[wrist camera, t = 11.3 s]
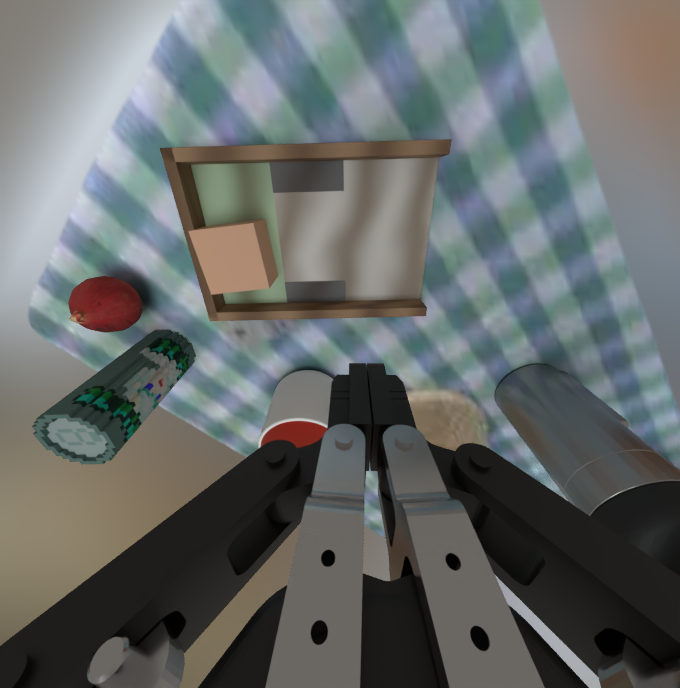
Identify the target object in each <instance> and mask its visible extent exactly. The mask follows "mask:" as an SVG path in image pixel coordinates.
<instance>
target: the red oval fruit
mask: <svg viewBox="0 0 680 688" xmlns="http://www.w3.org/2000/svg"><path fill="white" fill-rule="evenodd" d="M68 304H69V309H70V313H71V317H70V318H69V319H70V320H71V321H73V322H76V323H79V324H80V325H82V326H84V327H85V328H87V329H91V330H95V331H100V332H114V331H121V330H125V329H127V328H129V327H130V326H132V325H133V324H134V323H136V322H137V321H138V320H139V318H140V316H141V312H142V302H141V298H140V296H139V294H138V293H137V291H136V290H135V289H134V288H133V287H132V286H131V285H130V284H128V283H126V282H124V281H122V280H120V279H116V278H112V277H107V276H102V277H95V278H90V279H87V280H85V281H83V282H82V283H80V284H79V285H78V286H76V287H75V288H74V289H73V291H72V293H71V296H70V299H69V303H68Z"/></svg>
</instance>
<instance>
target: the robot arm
mask: <svg viewBox="0 0 680 688" xmlns="http://www.w3.org/2000/svg"><path fill="white" fill-rule="evenodd" d="M495 401H496V403H497V405H498V407H499V408H500V409H501V411H502V412H503V413H504V415H505V416H506V417H507V419H508V420H509V421H510V423H511V424H512V426H513V427H514V428H515V430H516V431H517V432H518V434H519V435H520V436H521V438H522V439H523V440H524V442H525V443H526V444H527V446H528V447H529V448H530V450H531V451H532V452H533V454H534V455H535V456H536V458H537V459H538V460H539V462H540V463H541V465H542V466H543V467H544V469H545V470H546V471H547V473H548V474H549V475H550V477H551V478H552V479H553V481H554V482H555V483H556V485H557V486H558V487H559V489H560V490H561V491H562V493H563V494H564V495H565V497H566V498H567V499H568V501H569V502H568V501H567V500H565V499H564V498H562V497H561V496H559V495H558V494H556V493H555V492H553V491H552V490H550V489H549V488H547V487H546V486H544V485H543V484H541V483H540V482H538V481H537V480H535V479H534V478H532V477H531V476H529V475H528V474H526V473H525V472H523V471H522V470H520V469H519V468H517V467H516V466H514V465H513V464H511V463H510V462H509V461H507V460H506V459H504V458H503V457H501V456H500V455H498V454H497V453H495V452H494V451H492V450H490V449H489V448H487V447H485V446H482V445H479V444H474V443H467V444H463V445H461V446H459V447H458V448H457V450H456V451H453V450H449V449H445V448H442V447H439V446H436V445H434V444H431V443H430V442H428V441H427V440H426V439H425V437H424V436H423V434H422V433H421V432H420V431H418V430H417V428H416V425H415V421H414V418H413V415H412V411H411V408H410V404H409V401H408V397H407V394H406V391H405V387H404V384H403V382H402V381H401V380H400V379H399V378H398V377H397V376H396V375H386V371H385V367H384V364H381V363H367V366H366V363H349V375H337V376H336V377H335V378H334V380H333V381H332V384H331V395H330V406H329V417H328V427H327V431H326V432H325V434H324V436H323V437H322V438H321V439H320V440H318V441H317V442H315V443H313V444H310V445H307V446H303V447H299V448H297V447H296V446H295V445H294V444H293V443H291V442H290V441H287V440H274V441H271V442H268V443H266V444H264V445H263V446H261V447H260V448H259V449H257V450H256V451H255V452H254V453H252V454H251V455H250V456H248V457H247V458H246V459H244V460H243V461H242V462H240V463H239V464H238V465H237V466H235V467H234V468H233V469H231V470H230V471H229V472H227V473H226V474H225V475H223V476H222V477H221V478H220V479H218V480H217V481H216V482H214V483H213V484H212V485H210V486H209V487H208V488H207V489H205V490H204V491H202V492H201V493H200V494H199V495H197V496H196V497H195V498H193V499H192V500H191V501H189V502H188V503H187V504H185V505H184V506H183V507H182V508H180V509H179V510H178V511H176V512H175V513H174V514H172V515H171V516H170V517H169V518H167V519H166V520H165V521H163V522H162V523H161V524H159V525H158V526H157V527H155V528H154V529H153V530H151V531H150V532H149V533H148V534H146V535H145V536H144V537H142V538H141V539H140V540H138V541H137V542H136V543H134V544H133V545H132V546H130V547H129V548H128V549H127V550H125V551H124V552H123V553H121V554H120V555H119V556H117V557H116V558H115V559H114V560H112V561H111V562H110V563H108V564H107V565H106V566H104V567H103V568H102V569H100V570H99V571H98V572H96V573H95V574H94V575H92V576H91V577H90V578H89V579H87V580H86V581H85V582H83V583H82V584H81V585H79V586H78V587H77V588H76V589H74V590H73V591H72V592H70V593H69V594H68V595H66V596H65V597H64V598H62V599H61V600H60V601H58V602H57V603H56V604H55V605H53V606H52V607H51V608H49V609H48V610H47V611H45V612H44V613H43V614H41V615H40V616H39V617H37V618H36V619H35V620H34V621H32V622H31V623H30V624H28V625H27V626H26V627H25V628H23V629H22V630H20V631H19V632H18V633H17V634H15V635H14V636H13V637H11V638H10V639H9V640H7V641H6V642H5V643H4V644H3V645H1V646H0V688H179V687H180V684H181V681H182V676H183V672H184V665H185V660H184V659H185V657H184V653H185V652H186V651H187V649H188V648H189V647H190V646H191V645H192V644H193V643H194V642H195V640H196V639H197V638H198V637H199V636H200V635H201V634H202V633H203V632H204V630H205V629H206V628H207V627H208V626H209V625H210V624H211V623H212V621H213V620H214V619H215V618H216V617H217V616H218V614H220V612H221V611H222V610H223V609H224V608H225V607H226V606H227V605H228V604H229V602H230V601H231V600H232V599H233V598H234V597H235V596H236V594H237V593H238V592H239V591H240V590H241V589H242V588H243V587H244V586H245V584H246V583H247V582H248V581H249V579H251V578H252V576H253V575H254V574H255V573H256V572H257V571H258V570H259V569H260V568H261V566H262V565H263V564H264V563H265V562H266V561H267V560H268V559H269V557H270V556H271V555H272V554H273V553H274V552H275V551H276V550H277V548H278V547H279V546H280V545H281V544H282V543H283V541H284V540H285V539H286V538H287V537H288V536H289V535H290V534H291V533H292V532H293V530H294V529H295V528H296V527H297V526H298V525H299V524H300V522H301V525H300V530H299V534H298V539H297V543H296V548H295V553H294V557H293V562H292V567H291V571H290V577H289V581H288V585H287V586H285V587H284V588H282V589H281V590H279V591H277V592H276V593H275V594H274V595H272V596H271V597H270V598H269V599H268V600H267V601H266V602H265V603H264V604H263V605H262V606H261V607H260V608H259V609H258V610H257V611H256V613H255V614H254V615H253V616H252V617H251V619H250V620H249V621H248V623H247V624H246V625H245V627H244V628H243V630H242V631H241V632H240V633H239V635H238V636H237V637H236V638H235V640H234V641H233V643H232V644H231V645H230V647H229V648H228V649H227V650H226V652H225V653H224V654H223V655H222V657H221V658H220V659H219V661H218V662H217V663H216V665H215V666H214V667H213V669H212V670H211V671H210V673H209V674H208V675H207V677H206V678H205V679H204V680H203V682H202V683H201V684H200V686H199V687H198V688H589V687H588V686H587V685H586V684H585V683H584V682H583V681H582V680H581V679H580V678H579V677H578V676H577V675H576V674H575V672H574V671H573V670H572V669H571V668H570V667H569V666H568V665H567V664H566V663H565V662H564V661H563V660H562V659H561V657H560V656H559V655H558V654H557V653H556V652H555V651H554V650H553V649H552V648H551V647H550V646H549V645H548V644H547V642H546V641H545V640H544V639H543V638H542V637H541V636H540V635H539V634H538V633H537V632H536V631H535V630H534V628H533V627H532V626H531V625H530V624H529V623H528V622H527V621H526V620H525V619H524V618H523V617H521V615H519V614H518V613H517V612H516V611H515V610H514V609H513V608H512V607H510V606H509V605H508V604H507V602H506V600H505V597H504V595H503V593H502V591H501V588H500V586H499V584H498V582H497V579H496V577H495V575H496V576H497V577H498V578H499V579H500V580H501V581H502V582H503V583H504V584H505V585H506V586H507V587H508V588H509V589H510V590H511V591H512V592H513V593H514V594H515V595H516V596H517V597H518V598H519V599H520V600H521V601H522V602H523V603H524V604H525V605H526V606H527V607H528V608H529V609H530V610H531V611H532V612H533V613H534V614H535V615H536V616H537V617H538V618H539V619H540V620H541V621H542V622H543V623H544V624H545V625H546V626H547V627H548V628H549V629H550V630H551V631H552V632H553V633H554V634H555V635H556V636H557V637H558V638H559V639H560V640H562V642H563V643H564V644H566V645H567V647H568V648H569V649H570V650H571V651H572V652H574V654H576V656H577V657H578V658H580V659H581V660H582V661H583V662H584V663H585V664H586V665H587V666H588V667H589V668H590V669H591V670H592V671H593V672H594V673H595V674H596V675H597V676H598V677H599V681H600V685H601V688H680V470H679V469H678V468H677V467H675V466H674V465H673V464H672V463H670V462H669V461H668V460H667V459H665V458H664V457H663V456H661V455H660V454H659V453H658V452H657V451H655V450H654V449H653V448H652V447H651V446H649V445H648V444H647V443H646V442H644V441H643V440H642V439H641V438H639V437H638V436H637V435H636V434H635V433H633V432H632V431H631V430H630V429H628V428H627V427H628V422H627V420H626V419H624V418H623V417H622V416H621V415H619V414H618V413H617V412H616V411H614V410H613V409H612V408H610V407H609V406H608V405H607V404H605V403H604V402H603V401H602V400H600V399H599V398H598V397H597V396H595V395H594V394H593V393H592V392H590V391H589V390H588V389H586V388H585V387H584V386H583V385H581V384H580V383H579V382H578V381H576V380H575V379H574V378H573V377H571V376H570V375H569V374H568V373H566V372H559V371H557V370H556V369H555V368H553V367H551V366H549V365H543V364H534V365H529V366H525V367H522V368H520V369H518V370H516V371H514V372H512V373H511V374H509V375H508V376H507V377H506V378H505V379H503V380H502V382H501V383H500V384H499V386H498V388H497V390H496V394H495ZM369 462H370V467H371V471H378V480H379V483H378V496H379V502H380V508H381V514H382V519H383V525H384V531H385V536H386V542H387V547H388V555H389V571H390V581H383V580H380V579H377V578H374V577H372V576H369V575H366V574H363V541H364V489H365V479H366V471H369ZM494 574H495V575H494Z"/></svg>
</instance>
